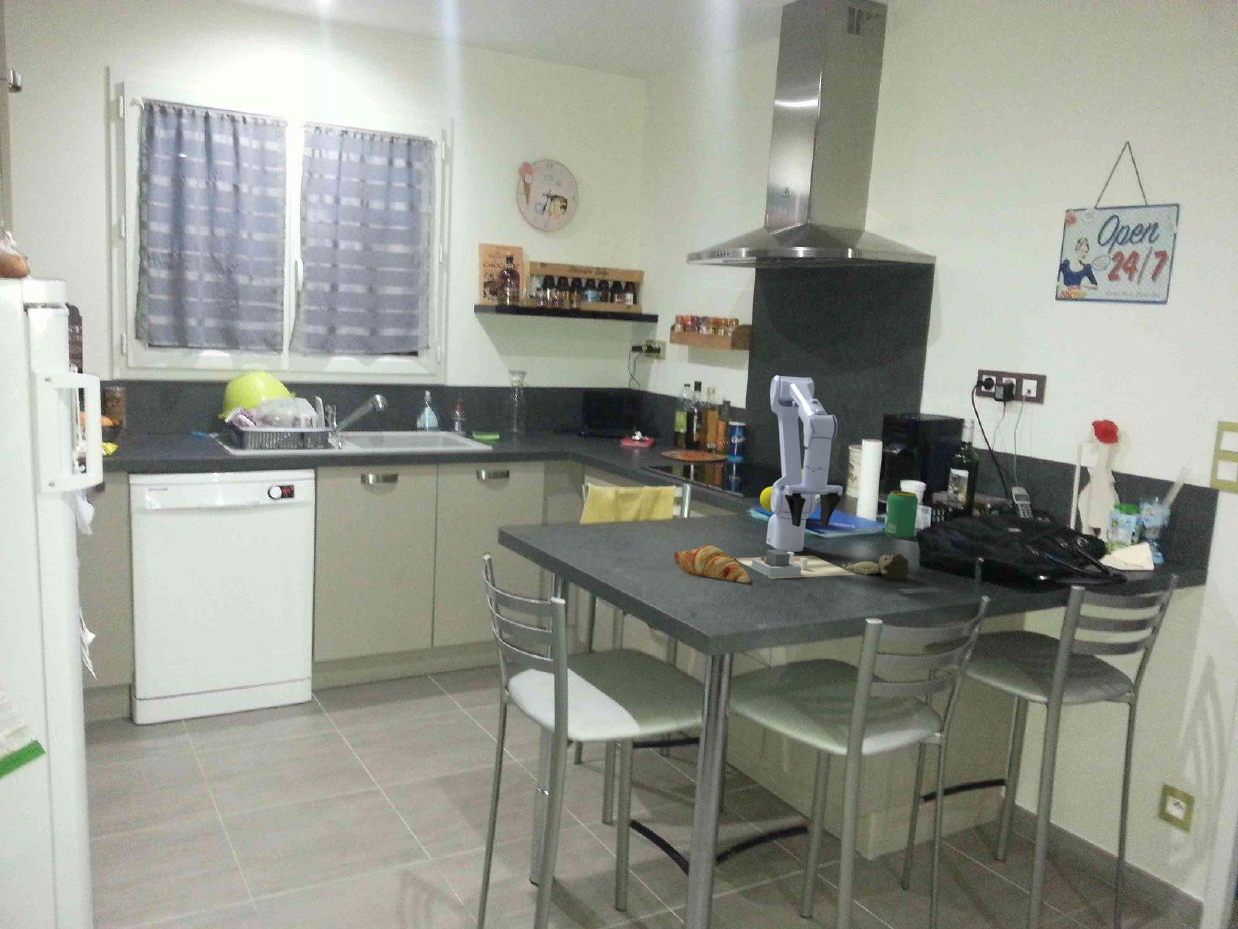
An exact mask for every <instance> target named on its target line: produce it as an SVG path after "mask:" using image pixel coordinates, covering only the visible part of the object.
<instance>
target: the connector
mask: <svg viewBox="0 0 1238 929" xmlns="http://www.w3.org/2000/svg"><path fill="white" fill-rule="evenodd" d="M760 558H761V561H763V562H764V563H765V564H767V565H769V566H771V567H779V566H789V558H790V554H788V553H787V551H783V550H779V549H766V554H765V555H761V556H760Z"/></svg>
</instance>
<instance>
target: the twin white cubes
mask: <svg viewBox="0 0 1238 929" xmlns="http://www.w3.org/2000/svg"><path fill="white" fill-rule="evenodd" d="M786 553H788V554H790V558H789V561H790V562H792V563H793V559H794V556H795V553H794V552H791V551H786ZM807 561H808V559H806V558H800V566H801V569H802V570H807Z"/></svg>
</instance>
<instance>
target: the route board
mask: <svg viewBox="0 0 1238 929" xmlns="http://www.w3.org/2000/svg"><path fill="white" fill-rule="evenodd" d="M734 558H735V557H734ZM800 558H806V559H808V561H807V570H802V569H801V576H783V577H769V579H788V578H789V579H790V578H791V579H792V578H793V579H795V578H812V577H813V578H814V577H815V578H817V577H836V576H837V577H838V576H840V577H841V576H857V575H856V574H855V573H853V572H851V571H849V570H848V569H845V568H843V567H840V566H837V565H835V564H833V563H831V562H828V561H826V560H824V559H821V558H819V557H817V556H815V555H799V556H797V555H796V556H795V555H794V559H793V563H794V564H796V565H799V566H800ZM735 559H737V562H738V563H741V564H743V565H745V566H747V567H748V568H750V569H752V570H754V571H757V570H755V569H753V568H752V560H753V559H757V560H759V561H761V557H738V558H737V557H736V558H735ZM761 562H763V561H761ZM763 563H764V562H763ZM757 572H758V571H757Z"/></svg>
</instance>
